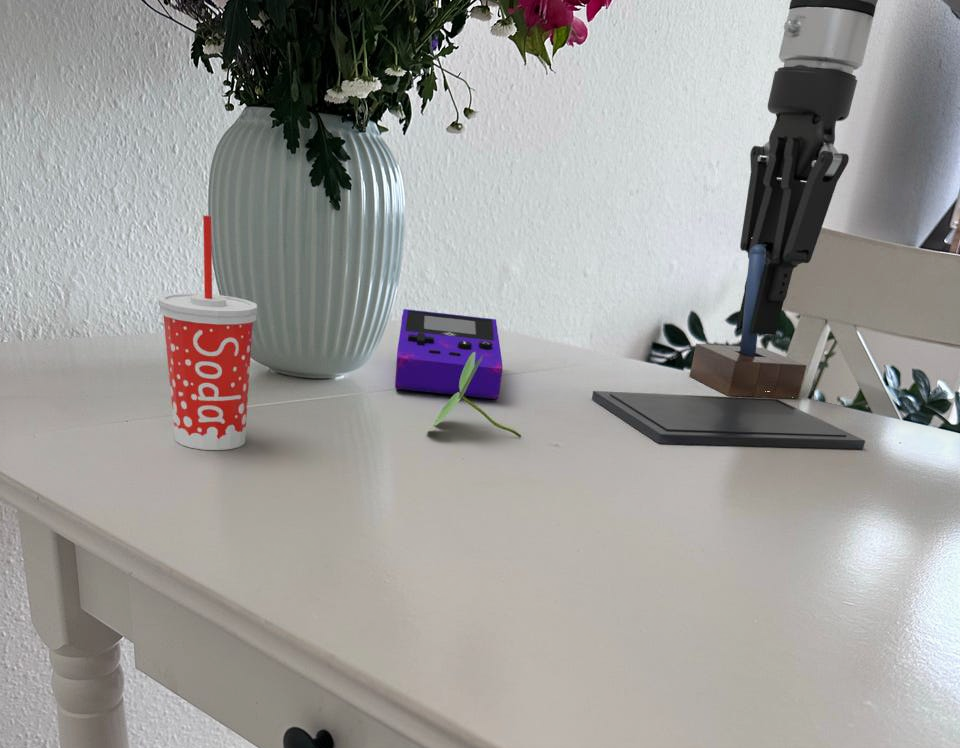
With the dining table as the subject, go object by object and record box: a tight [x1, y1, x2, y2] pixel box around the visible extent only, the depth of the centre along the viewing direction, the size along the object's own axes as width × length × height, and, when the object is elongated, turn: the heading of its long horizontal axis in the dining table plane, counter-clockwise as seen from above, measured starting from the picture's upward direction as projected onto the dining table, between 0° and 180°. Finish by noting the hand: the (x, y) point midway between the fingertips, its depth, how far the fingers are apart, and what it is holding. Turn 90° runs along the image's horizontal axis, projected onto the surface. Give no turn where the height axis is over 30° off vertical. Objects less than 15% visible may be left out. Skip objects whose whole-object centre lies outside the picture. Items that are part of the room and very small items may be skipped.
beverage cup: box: [157, 214, 258, 451], centre depth 62 cm, size 6×6×14 cm
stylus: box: [740, 244, 766, 357], centre depth 99 cm, size 2×2×14 cm
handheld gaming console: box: [394, 308, 504, 400], centre depth 89 cm, size 9×5×15 cm
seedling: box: [428, 352, 522, 438], centre depth 74 cm, size 7×8×7 cm
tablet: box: [591, 390, 866, 450], centre depth 86 cm, size 20×14×1 cm
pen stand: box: [688, 343, 808, 399], centre depth 102 cm, size 8×8×4 cm
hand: (755, 330), depth 100 cm, fingers closed
